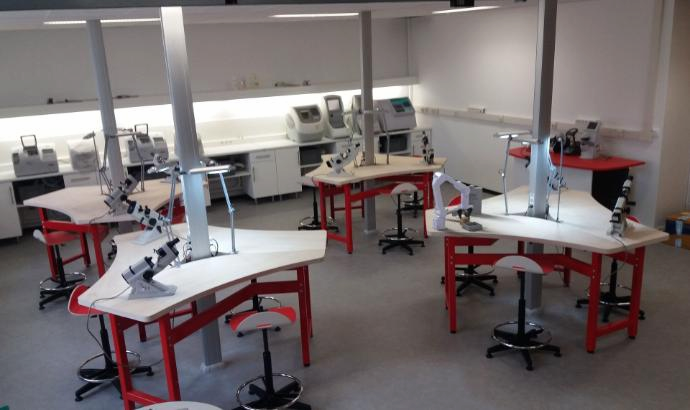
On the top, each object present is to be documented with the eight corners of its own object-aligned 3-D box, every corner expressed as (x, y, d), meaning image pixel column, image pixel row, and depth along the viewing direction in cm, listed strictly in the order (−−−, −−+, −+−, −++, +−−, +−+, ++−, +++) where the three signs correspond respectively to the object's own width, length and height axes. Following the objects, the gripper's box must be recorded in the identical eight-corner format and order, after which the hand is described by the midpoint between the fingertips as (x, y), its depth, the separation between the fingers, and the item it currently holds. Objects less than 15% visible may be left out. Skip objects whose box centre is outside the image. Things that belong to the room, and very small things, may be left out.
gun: (470, 221, 458) (463, 203, 458) (440, 230, 472) (434, 213, 472) (471, 220, 463) (465, 202, 463) (442, 228, 476) (436, 212, 476)
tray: (469, 231, 436) (469, 226, 435) (461, 227, 445) (461, 223, 444) (482, 229, 440) (482, 224, 439) (474, 225, 449) (475, 221, 449)
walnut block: (463, 226, 450) (463, 218, 448) (459, 224, 454) (459, 217, 453) (468, 225, 451) (468, 218, 450) (465, 223, 456) (465, 216, 454)
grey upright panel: (461, 214, 482) (462, 185, 476) (460, 213, 487) (461, 184, 481) (482, 214, 482) (483, 185, 476) (480, 212, 487) (481, 184, 481)
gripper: (459, 203, 442) (459, 220, 445) (475, 201, 447) (475, 217, 450) (454, 201, 448) (454, 218, 451) (470, 199, 453) (470, 215, 457)
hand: (464, 217), depth 451 cm, fingers open, 7 cm apart
